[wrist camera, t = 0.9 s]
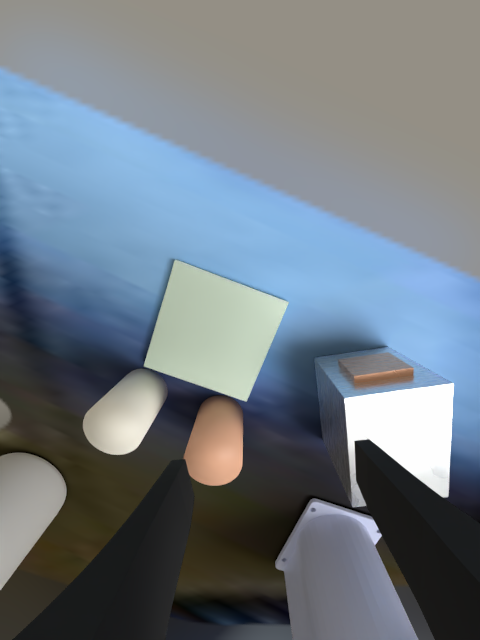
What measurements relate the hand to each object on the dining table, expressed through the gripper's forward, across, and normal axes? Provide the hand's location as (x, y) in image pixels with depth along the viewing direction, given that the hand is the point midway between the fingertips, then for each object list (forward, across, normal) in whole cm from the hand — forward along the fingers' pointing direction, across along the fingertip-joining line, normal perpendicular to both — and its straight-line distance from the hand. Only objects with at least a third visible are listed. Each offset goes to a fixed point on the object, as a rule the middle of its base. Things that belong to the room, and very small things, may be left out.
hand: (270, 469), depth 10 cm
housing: (+10, -8, +4) cm, 13 cm away
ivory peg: (+10, +10, +1) cm, 14 cm away
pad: (+10, +3, -4) cm, 11 cm away
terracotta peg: (+10, +4, +4) cm, 11 cm away
